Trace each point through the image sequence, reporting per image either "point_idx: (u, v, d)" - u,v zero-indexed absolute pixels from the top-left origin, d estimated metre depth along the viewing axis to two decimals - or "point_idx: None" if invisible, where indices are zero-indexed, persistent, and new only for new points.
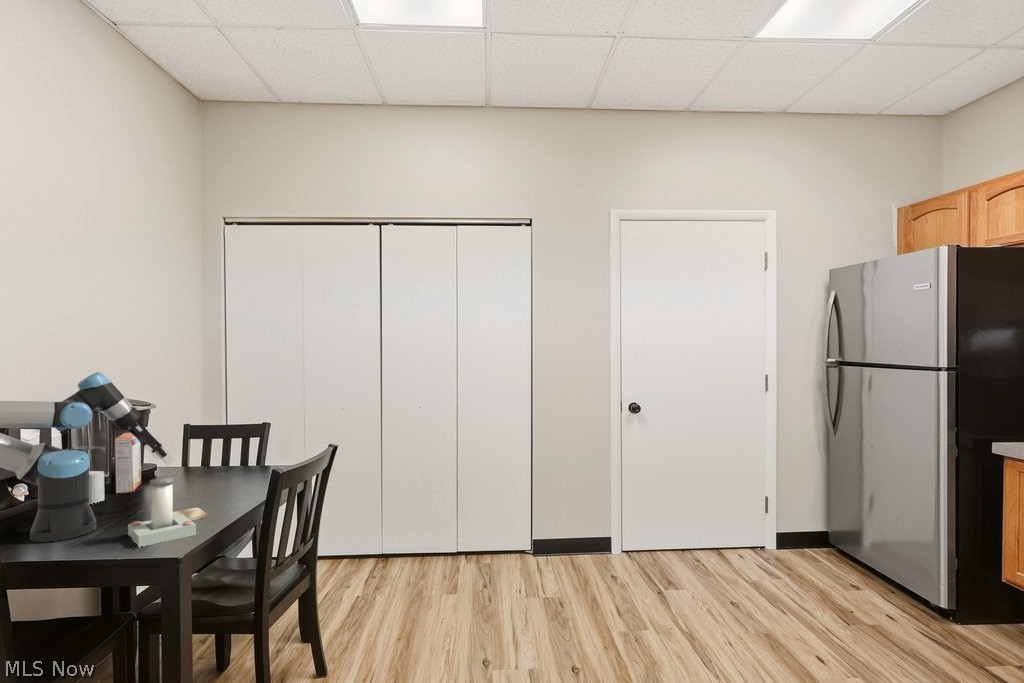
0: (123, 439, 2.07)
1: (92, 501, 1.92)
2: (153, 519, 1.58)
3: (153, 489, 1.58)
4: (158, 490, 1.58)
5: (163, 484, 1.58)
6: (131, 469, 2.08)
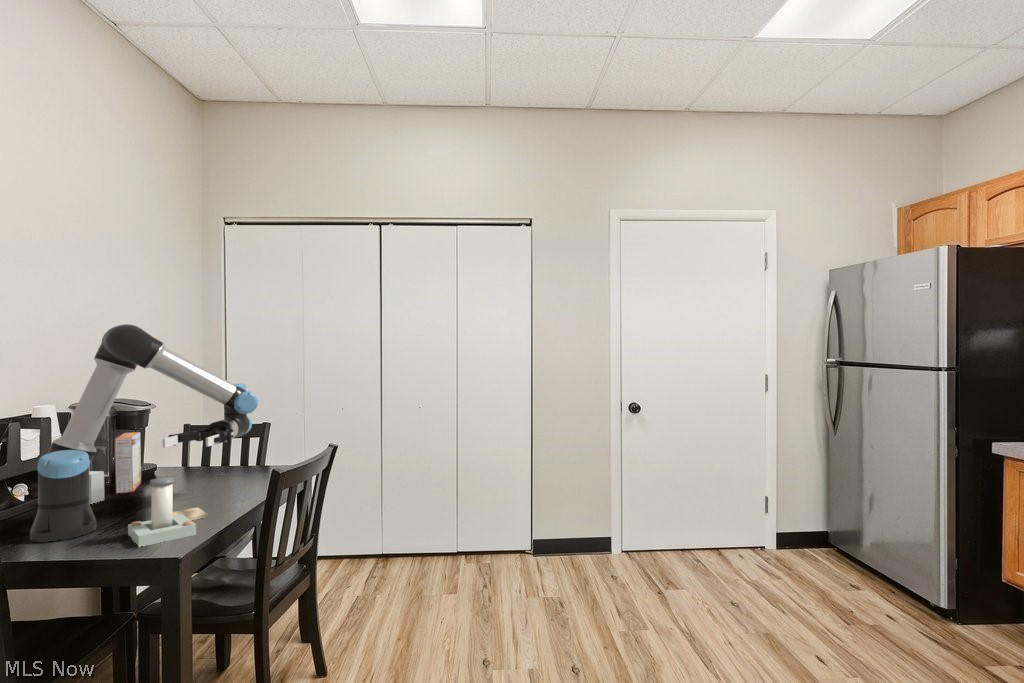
0: (123, 439, 2.07)
1: (92, 501, 1.92)
2: (153, 519, 1.58)
3: (153, 489, 1.58)
4: (158, 490, 1.58)
5: (163, 484, 1.58)
6: (131, 469, 2.08)
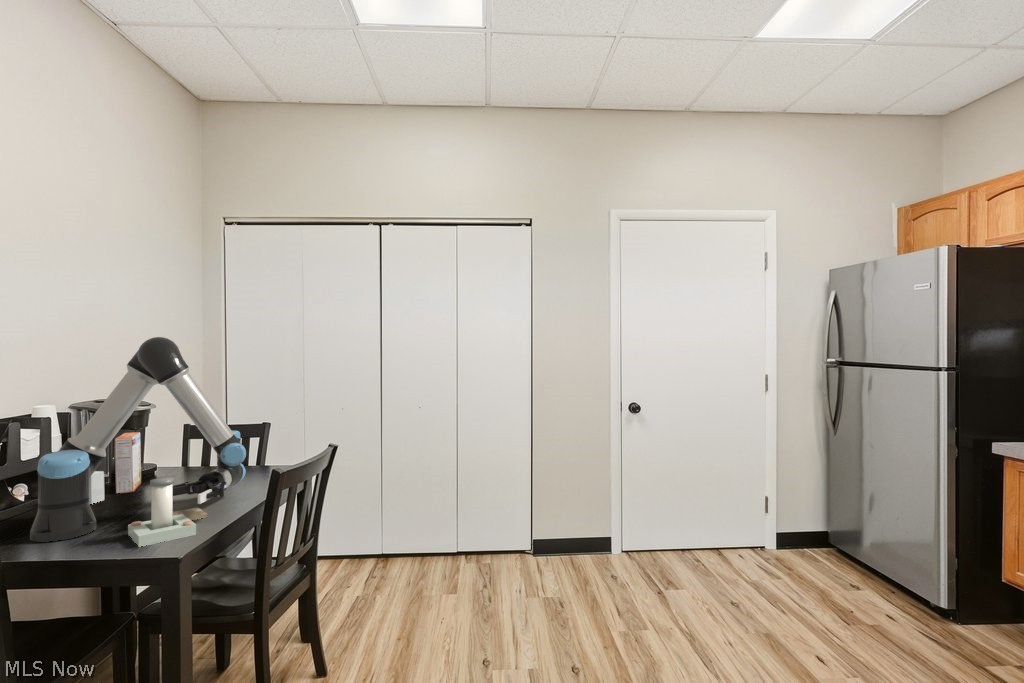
0: (123, 439, 2.07)
1: (92, 501, 1.92)
2: (153, 519, 1.58)
3: (153, 489, 1.58)
4: (158, 490, 1.58)
5: (163, 484, 1.58)
6: (131, 469, 2.08)
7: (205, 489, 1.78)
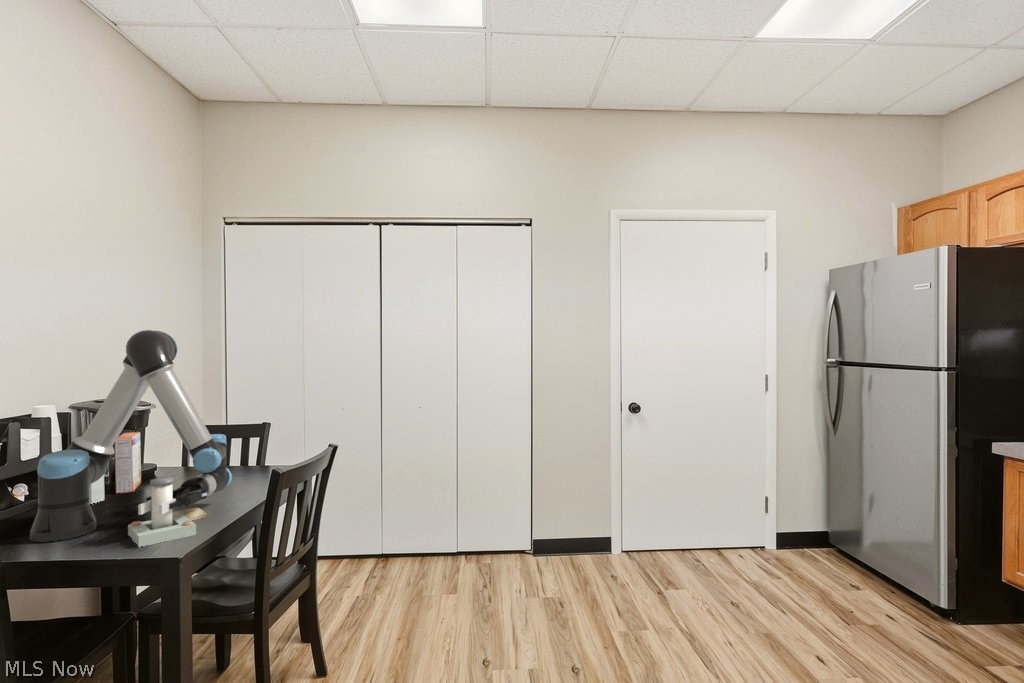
0: (123, 439, 2.07)
1: (92, 501, 1.92)
2: (153, 519, 1.58)
3: (153, 489, 1.58)
4: (158, 490, 1.58)
5: (163, 484, 1.58)
6: (131, 469, 2.08)
7: (187, 496, 1.69)
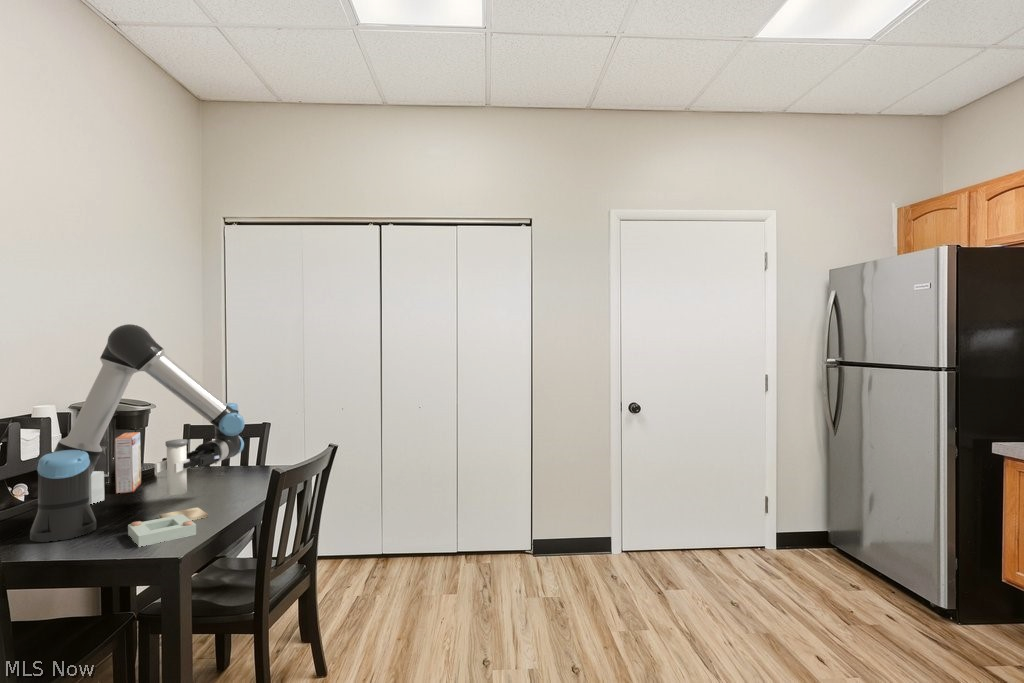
0: (123, 439, 2.07)
1: (92, 501, 1.92)
2: (168, 477, 1.67)
3: (168, 449, 1.67)
4: (173, 450, 1.67)
5: (177, 445, 1.67)
6: (131, 469, 2.08)
7: None
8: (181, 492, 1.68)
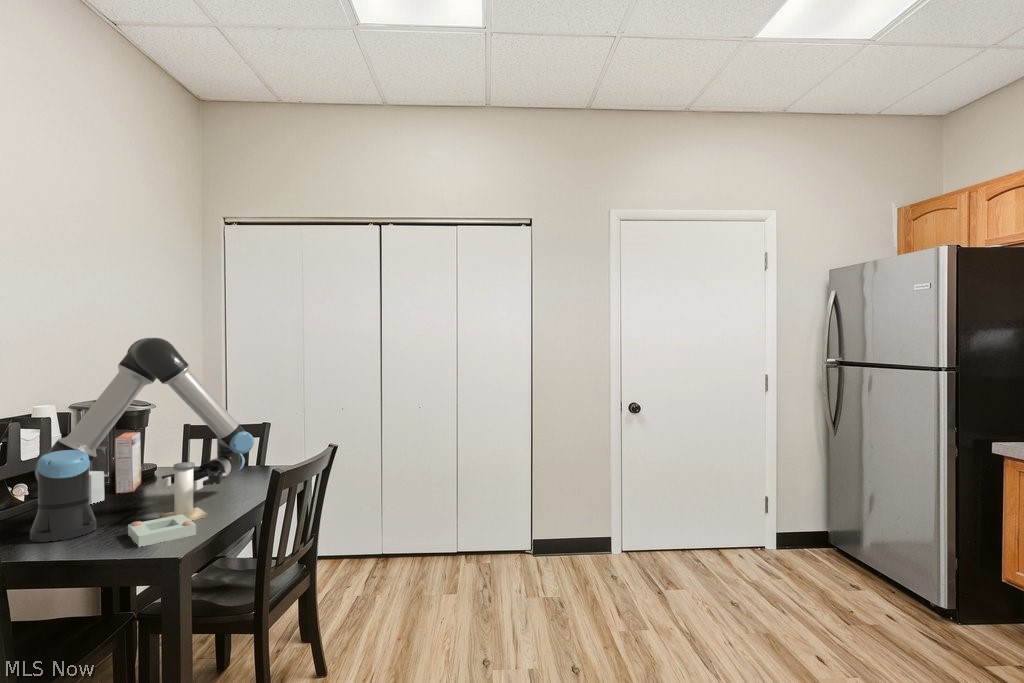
0: (123, 439, 2.07)
1: (92, 501, 1.92)
2: (176, 499, 1.74)
3: (176, 472, 1.74)
4: (181, 473, 1.74)
5: (185, 468, 1.74)
6: (131, 469, 2.08)
7: (205, 476, 1.85)
8: (188, 513, 1.75)
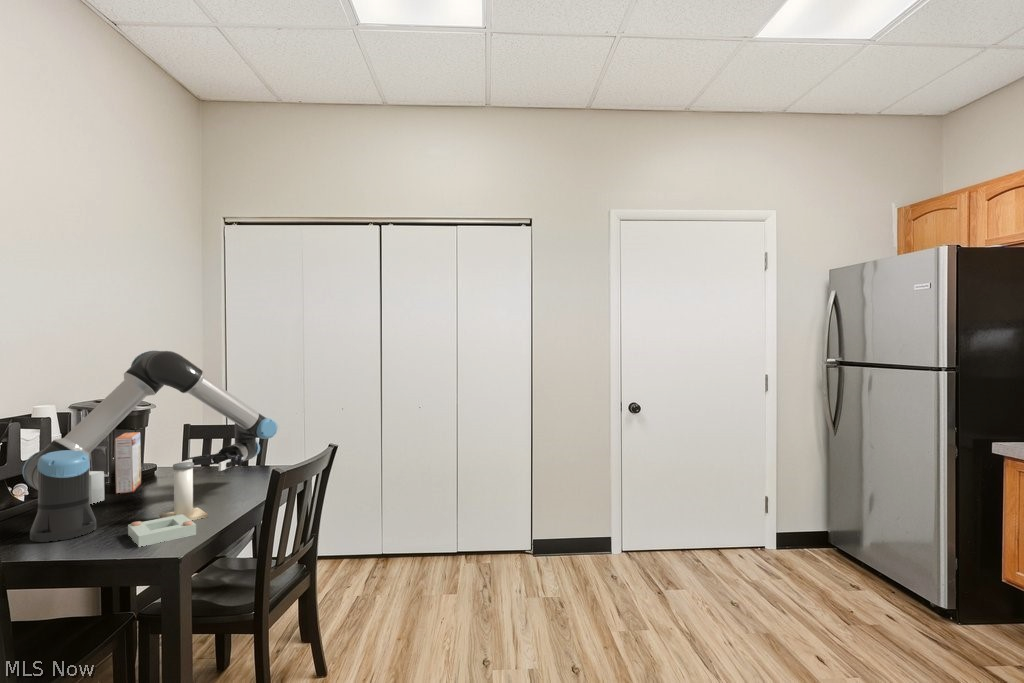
0: (123, 439, 2.07)
1: (92, 501, 1.92)
2: (176, 499, 1.74)
3: (176, 472, 1.74)
4: (180, 473, 1.74)
5: (185, 468, 1.75)
6: (131, 469, 2.08)
7: (224, 460, 1.99)
8: (188, 513, 1.75)
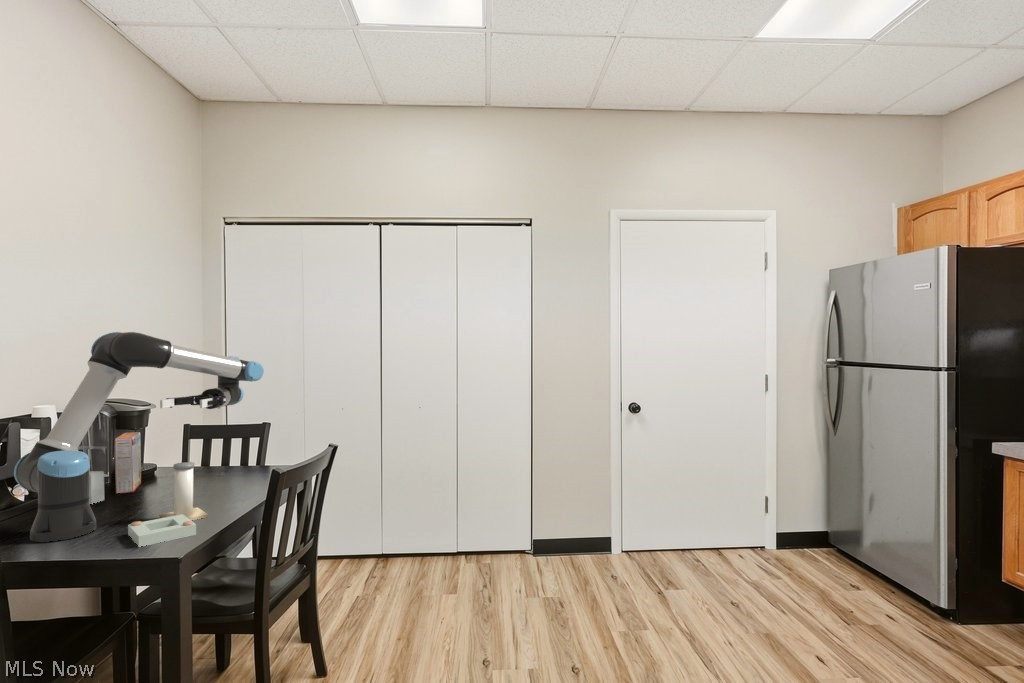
0: (123, 439, 2.07)
1: (92, 501, 1.92)
2: (176, 499, 1.74)
3: (176, 472, 1.74)
4: (181, 473, 1.74)
5: (185, 468, 1.75)
6: (131, 469, 2.08)
7: None
8: (188, 513, 1.75)
